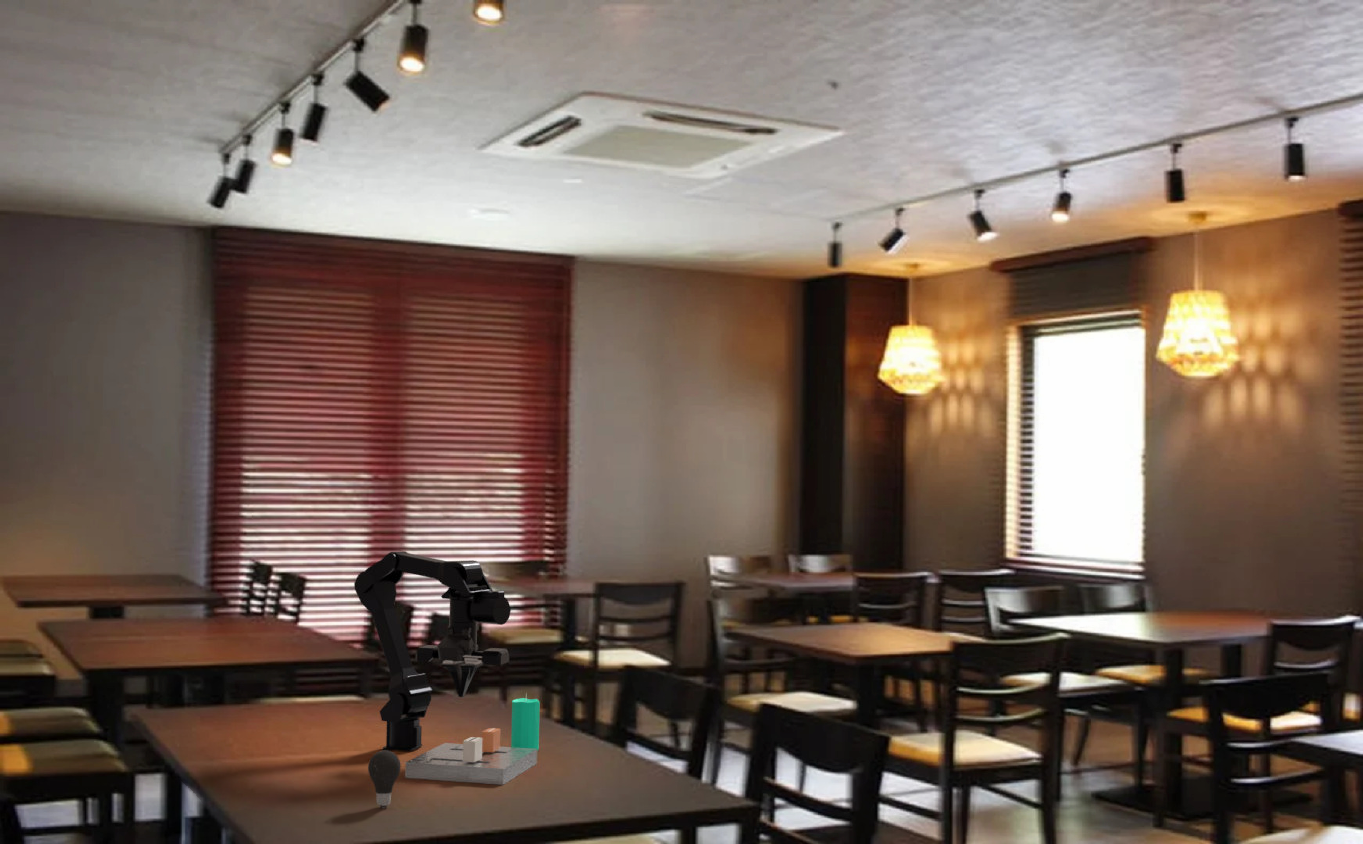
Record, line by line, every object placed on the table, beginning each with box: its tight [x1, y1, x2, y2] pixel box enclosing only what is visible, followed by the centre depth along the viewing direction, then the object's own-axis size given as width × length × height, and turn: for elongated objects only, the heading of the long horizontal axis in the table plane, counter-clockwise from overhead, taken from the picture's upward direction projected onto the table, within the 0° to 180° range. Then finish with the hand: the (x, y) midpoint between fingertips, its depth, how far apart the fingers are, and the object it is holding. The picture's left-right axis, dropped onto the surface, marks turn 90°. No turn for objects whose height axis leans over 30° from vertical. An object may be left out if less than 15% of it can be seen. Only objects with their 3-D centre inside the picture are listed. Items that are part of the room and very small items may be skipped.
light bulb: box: [367, 750, 401, 809], centre depth 249 cm, size 6×6×10 cm
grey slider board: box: [404, 742, 538, 786], centre depth 280 cm, size 20×20×3 cm
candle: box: [510, 692, 541, 752], centre depth 302 cm, size 6×6×12 cm
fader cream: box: [462, 736, 482, 763], centre depth 275 cm, size 2×4×7 cm, turn 168°
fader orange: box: [481, 727, 501, 753], centre depth 284 cm, size 2×4×7 cm, turn 167°
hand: (461, 696), depth 293 cm, fingers closed
